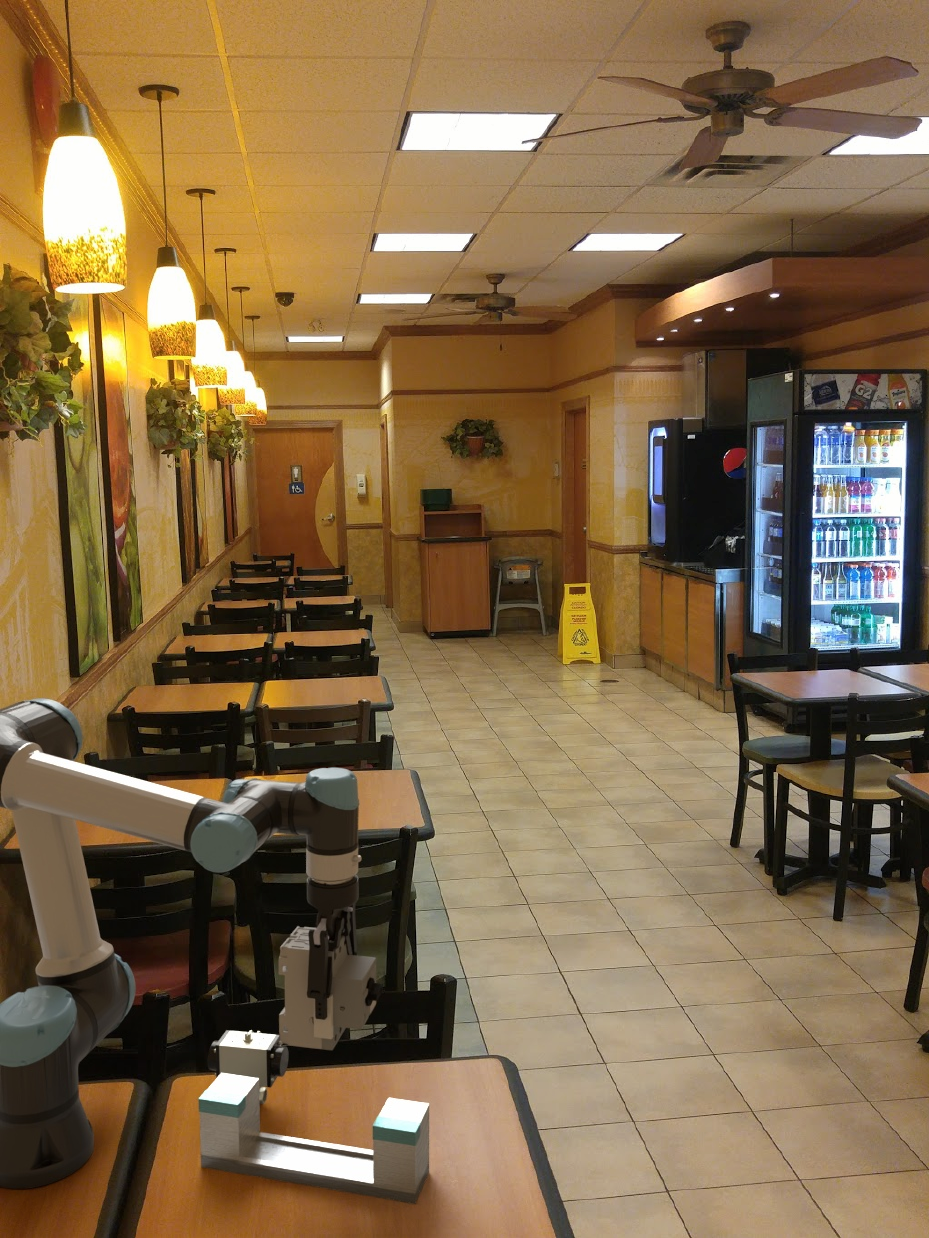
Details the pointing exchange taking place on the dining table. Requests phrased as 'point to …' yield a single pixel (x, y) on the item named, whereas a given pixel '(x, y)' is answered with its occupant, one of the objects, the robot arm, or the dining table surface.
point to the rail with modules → (314, 1146)
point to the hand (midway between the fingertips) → (333, 1022)
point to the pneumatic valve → (249, 1057)
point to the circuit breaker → (348, 987)
